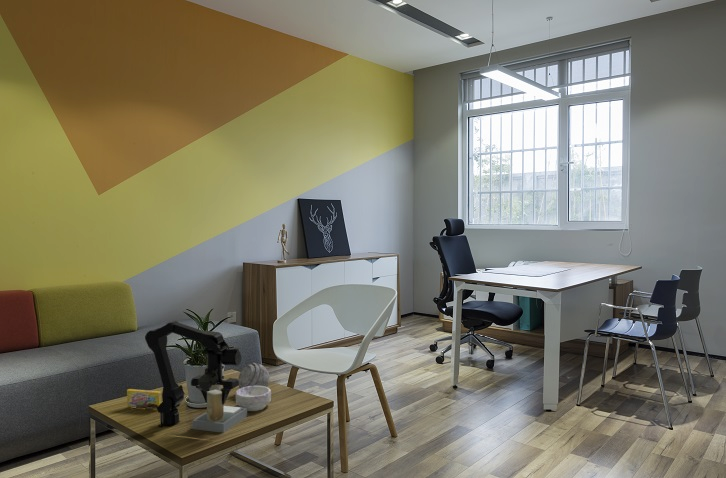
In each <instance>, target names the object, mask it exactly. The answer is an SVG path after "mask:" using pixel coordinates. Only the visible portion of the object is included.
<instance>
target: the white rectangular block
mask: <svg viewBox="0 0 726 478" xmlns="http://www.w3.org/2000/svg"><path fill="white" fill-rule="evenodd" d="M240 411H241V407H240V406H229V405H224V421H227V420H228V419H230V418H231V417H233V416H234V415H236V414H237V413H239V412H240Z"/></svg>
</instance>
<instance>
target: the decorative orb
mask: <svg viewBox="0 0 726 478" xmlns="http://www.w3.org/2000/svg"><path fill="white" fill-rule="evenodd" d="M238 375H239V376H238V378H237V379H238V381H239V385H238V388H239V389H241V388H244V387H248V386H265V387H269V385H270V373H269V371H268V369H267V368H266V367H265V366H264V365H262V364H260V363H256V362H250V363H248V364H247V365H245V366H244V367H243V368H242V369H241V371H240V373H239V374H238Z"/></svg>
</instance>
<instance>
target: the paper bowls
mask: <svg viewBox="0 0 726 478" xmlns="http://www.w3.org/2000/svg"><path fill="white" fill-rule="evenodd" d="M271 401H272V390H271V388H270V387H269V386H267V387H265V386H248V387H244V388H241V389H240V388H239V389H237V390H236V391H235V405H237V407H241V408H247V412H257V411H261V410H263V409H265V408H266V406H267V405H268V404H269V403H271Z"/></svg>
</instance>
